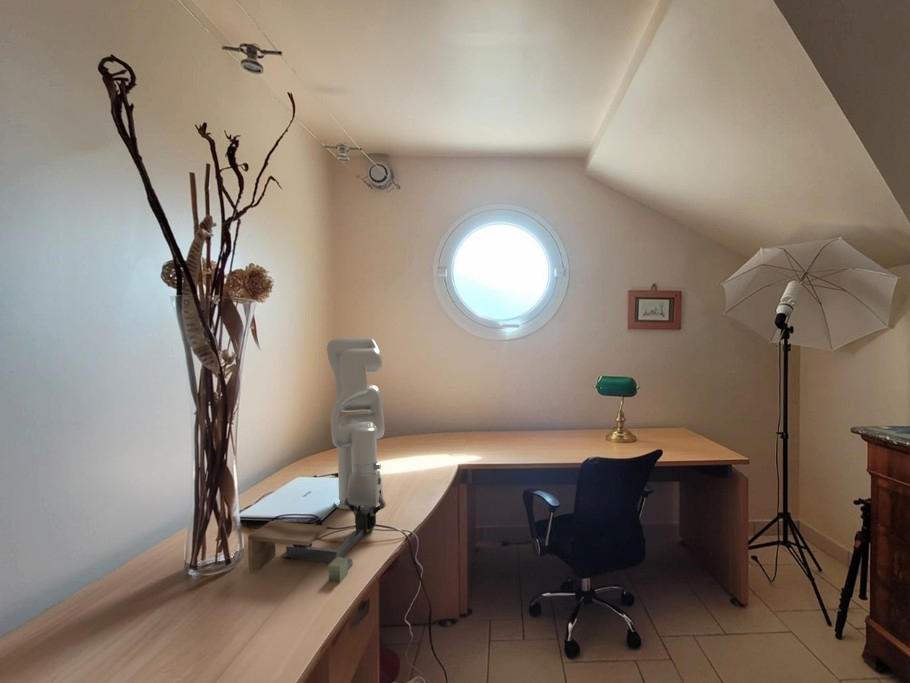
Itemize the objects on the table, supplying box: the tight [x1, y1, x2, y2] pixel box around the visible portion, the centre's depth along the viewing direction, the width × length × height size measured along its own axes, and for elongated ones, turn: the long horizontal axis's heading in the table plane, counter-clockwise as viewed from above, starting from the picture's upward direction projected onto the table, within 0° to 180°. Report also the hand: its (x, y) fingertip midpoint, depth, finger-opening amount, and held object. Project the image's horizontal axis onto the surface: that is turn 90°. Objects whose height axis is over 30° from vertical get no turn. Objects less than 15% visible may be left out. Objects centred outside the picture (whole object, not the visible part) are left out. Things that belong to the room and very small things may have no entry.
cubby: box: [247, 520, 328, 574], centre depth 110 cm, size 9×17×10 cm, turn 77°
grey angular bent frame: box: [285, 506, 374, 564], centre depth 124 cm, size 23×16×6 cm
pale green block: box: [327, 557, 354, 584], centre depth 107 cm, size 8×3×4 cm, turn 167°
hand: (365, 526), depth 131 cm, fingers closed on grey angular bent frame, 3 cm apart
